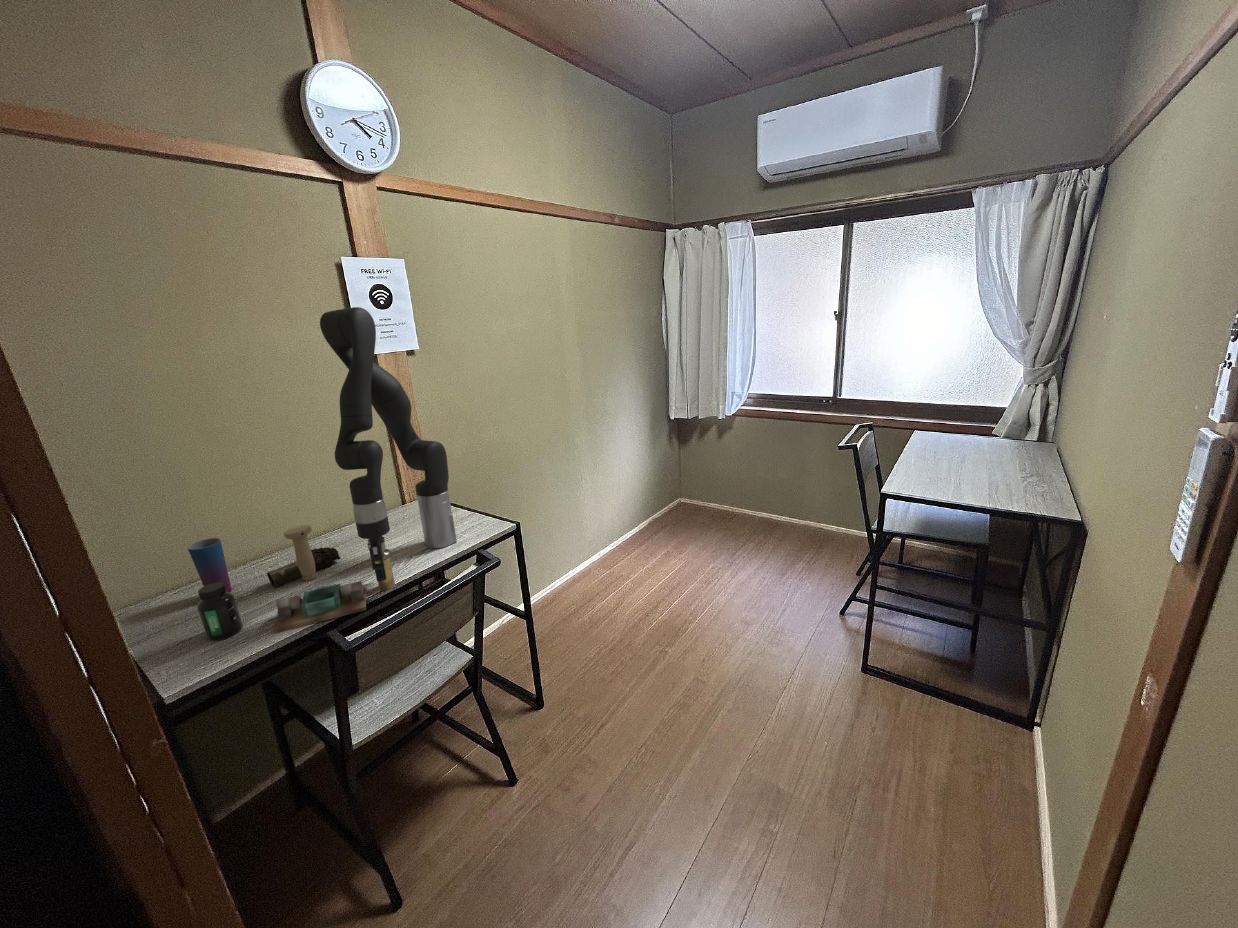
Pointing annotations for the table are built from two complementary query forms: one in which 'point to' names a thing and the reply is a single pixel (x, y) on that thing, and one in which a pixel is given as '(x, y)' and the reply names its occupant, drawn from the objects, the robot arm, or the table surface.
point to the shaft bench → (321, 605)
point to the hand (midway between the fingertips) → (382, 572)
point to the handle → (302, 550)
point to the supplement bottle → (218, 612)
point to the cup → (210, 561)
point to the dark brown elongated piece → (291, 571)
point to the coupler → (387, 573)
